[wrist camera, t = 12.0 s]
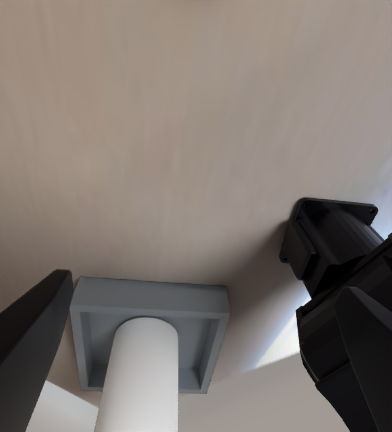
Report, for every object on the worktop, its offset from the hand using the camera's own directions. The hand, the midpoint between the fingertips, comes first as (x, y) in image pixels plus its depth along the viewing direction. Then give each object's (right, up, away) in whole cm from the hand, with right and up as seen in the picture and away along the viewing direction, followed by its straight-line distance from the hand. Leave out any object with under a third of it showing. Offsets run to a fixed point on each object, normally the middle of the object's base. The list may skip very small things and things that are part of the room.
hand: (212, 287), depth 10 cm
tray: (-5, -9, +21) cm, 24 cm away
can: (-6, -10, +21) cm, 24 cm away
